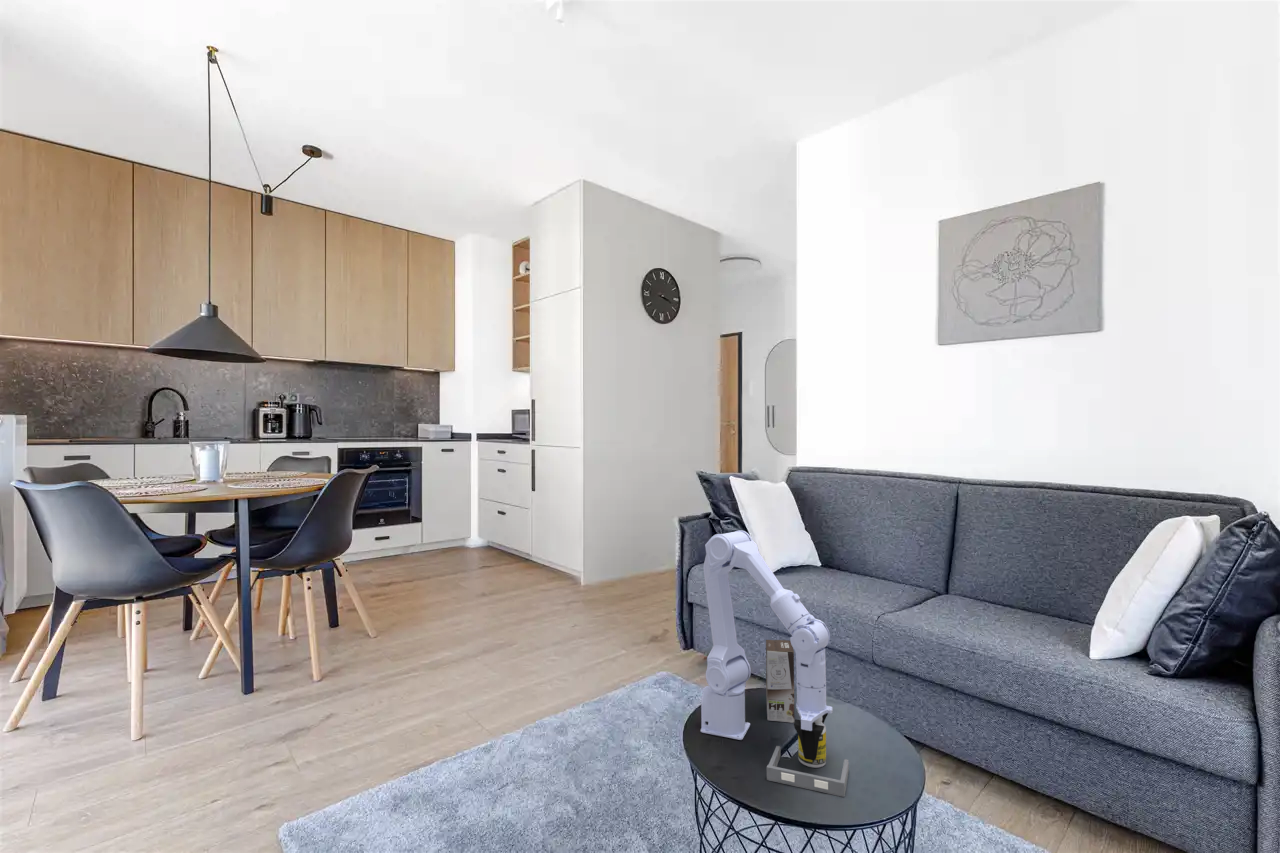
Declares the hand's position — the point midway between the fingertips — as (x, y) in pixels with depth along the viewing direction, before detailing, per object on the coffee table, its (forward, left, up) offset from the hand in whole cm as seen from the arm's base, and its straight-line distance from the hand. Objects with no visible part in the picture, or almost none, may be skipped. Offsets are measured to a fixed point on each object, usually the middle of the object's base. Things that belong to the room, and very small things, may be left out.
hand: (812, 751), depth 119 cm
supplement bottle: (0, 0, -2) cm, 2 cm away
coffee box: (-10, +20, -2) cm, 22 cm away
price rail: (0, -6, -2) cm, 6 cm away
